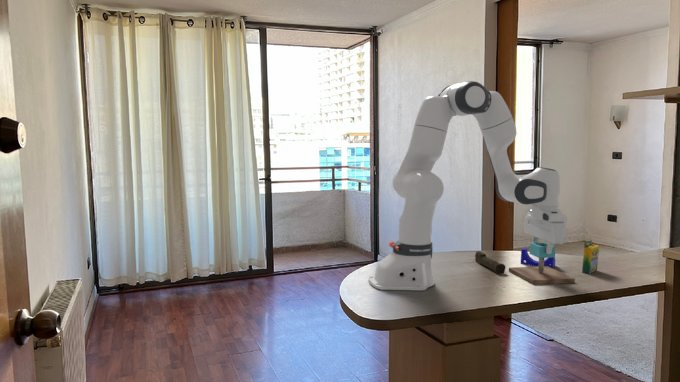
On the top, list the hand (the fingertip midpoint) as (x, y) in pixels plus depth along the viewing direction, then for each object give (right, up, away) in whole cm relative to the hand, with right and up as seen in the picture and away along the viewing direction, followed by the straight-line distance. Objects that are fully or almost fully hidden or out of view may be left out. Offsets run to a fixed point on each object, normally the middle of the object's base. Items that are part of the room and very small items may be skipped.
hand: (541, 251), depth 176 cm
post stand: (0, -10, +1) cm, 10 cm away
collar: (0, -2, 0) cm, 2 cm away
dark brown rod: (-16, -8, +13) cm, 22 cm away
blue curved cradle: (+6, -8, +18) cm, 20 cm away
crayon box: (+22, -9, +9) cm, 25 cm away
